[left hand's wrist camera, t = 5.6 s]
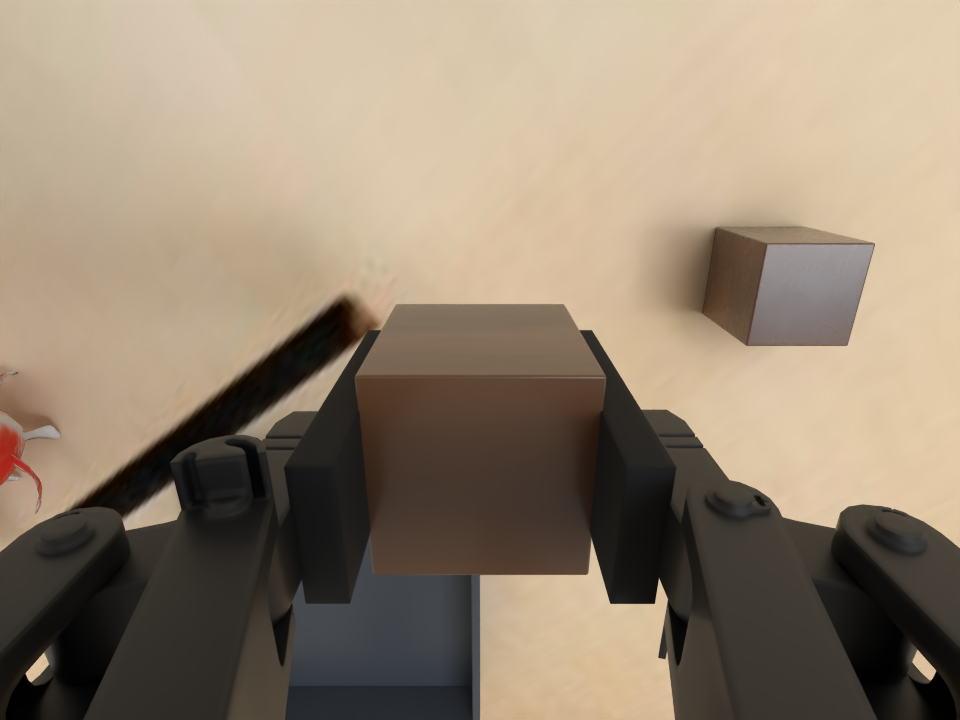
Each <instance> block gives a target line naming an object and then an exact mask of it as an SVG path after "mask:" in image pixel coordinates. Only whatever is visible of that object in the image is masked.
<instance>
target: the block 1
mask: <svg viewBox="0 0 960 720" xmlns="http://www.w3.org/2000/svg"><path fill="white" fill-rule="evenodd" d="M355 386H356V397H357V408H358V411H359V412H360V423H361V434H362V445H363V456H364V468H365V479H366V490H367V501H368V512H369V523H370V536H369V539H370V550H371V561H372V572H373V574H374V575H587V574H588V571H589V560H590V549H591V539H592V538H591V534H590V527H591V516H592V505H593V494H594V483H595V472H596V461H597V450H598V438H599V427H600V416H601V411H603V408H604V397H605V386H606V376H605V374H604V372H603V370H602V369H601V367H600V365H599V363H598V362H597V360H596V358H595V357H594V355H593V353H592V351H591V350H590V348H589V346H588V345H587V343H586V341H585V339H584V338H583V336H582V334H581V333H580V331H579V329H578V327H577V326H576V324H575V322H574V321H573V319H572V317H571V315H570V314H569V312H568V310H567V309H566V307H565V305H563V304H397V305H396V306H395V307H394V309H393V311H392V313H391V314H390V316H389V318H388V320H387V321H386V323H385V325H384V327H383V328H382V330H381V332H380V334H379V335H378V337H377V339H376V341H375V342H374V344H373V346H372V348H371V349H370V351H369V353H368V355H367V356H366V358H365V360H364V362H363V363H362V365H361V367H360V369H359V370H358V372H357V374H356V376H355Z"/></svg>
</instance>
